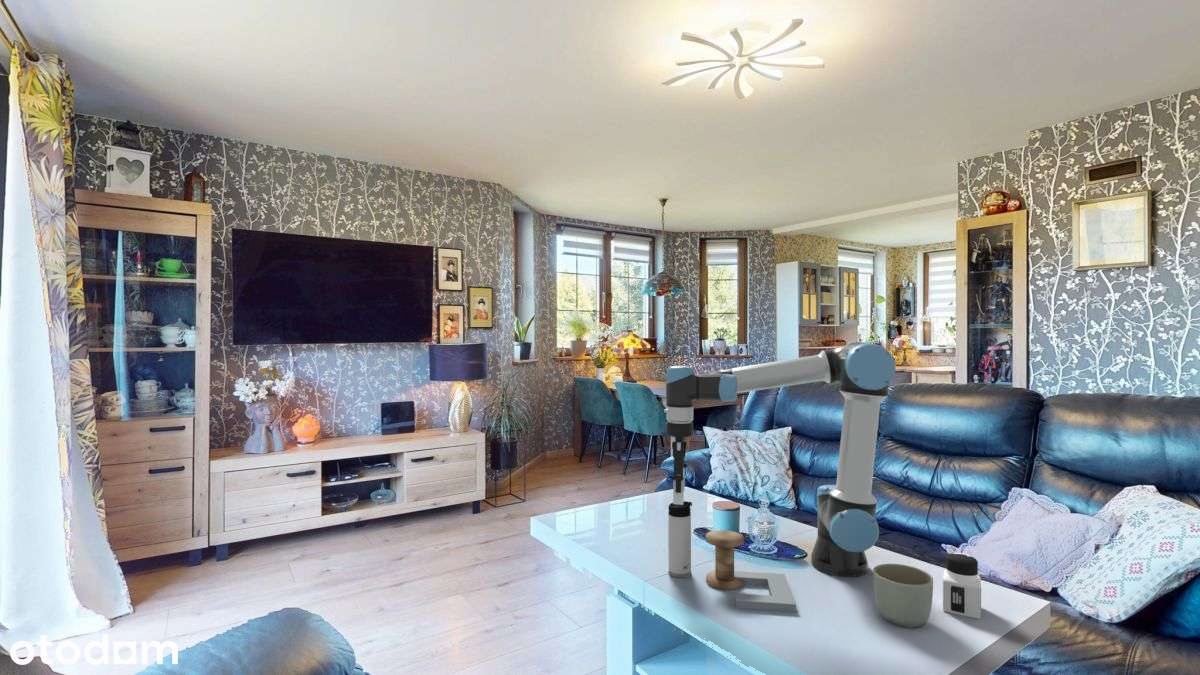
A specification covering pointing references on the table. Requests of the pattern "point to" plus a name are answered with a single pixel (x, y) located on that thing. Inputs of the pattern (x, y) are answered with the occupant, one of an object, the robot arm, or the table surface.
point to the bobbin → (724, 559)
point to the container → (962, 586)
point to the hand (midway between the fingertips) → (679, 497)
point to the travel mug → (679, 539)
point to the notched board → (775, 601)
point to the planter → (903, 594)
